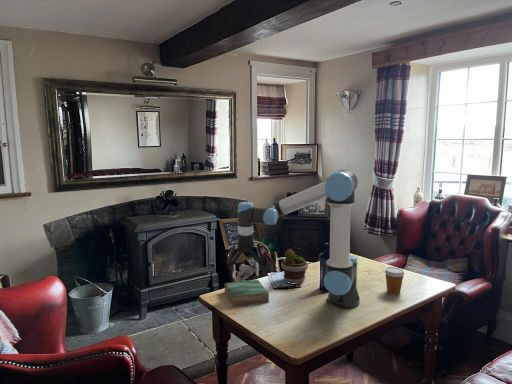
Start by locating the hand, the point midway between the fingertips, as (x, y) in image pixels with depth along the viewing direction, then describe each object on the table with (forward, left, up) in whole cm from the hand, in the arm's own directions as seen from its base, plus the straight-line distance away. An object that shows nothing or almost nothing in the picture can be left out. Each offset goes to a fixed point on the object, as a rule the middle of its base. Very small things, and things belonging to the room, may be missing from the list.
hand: (245, 276), depth 188 cm
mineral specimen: (-1, 0, -1) cm, 1 cm away
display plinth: (0, 0, -11) cm, 11 cm away
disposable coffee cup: (-17, -74, -11) cm, 77 cm away
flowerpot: (+12, -31, -11) cm, 35 cm away
